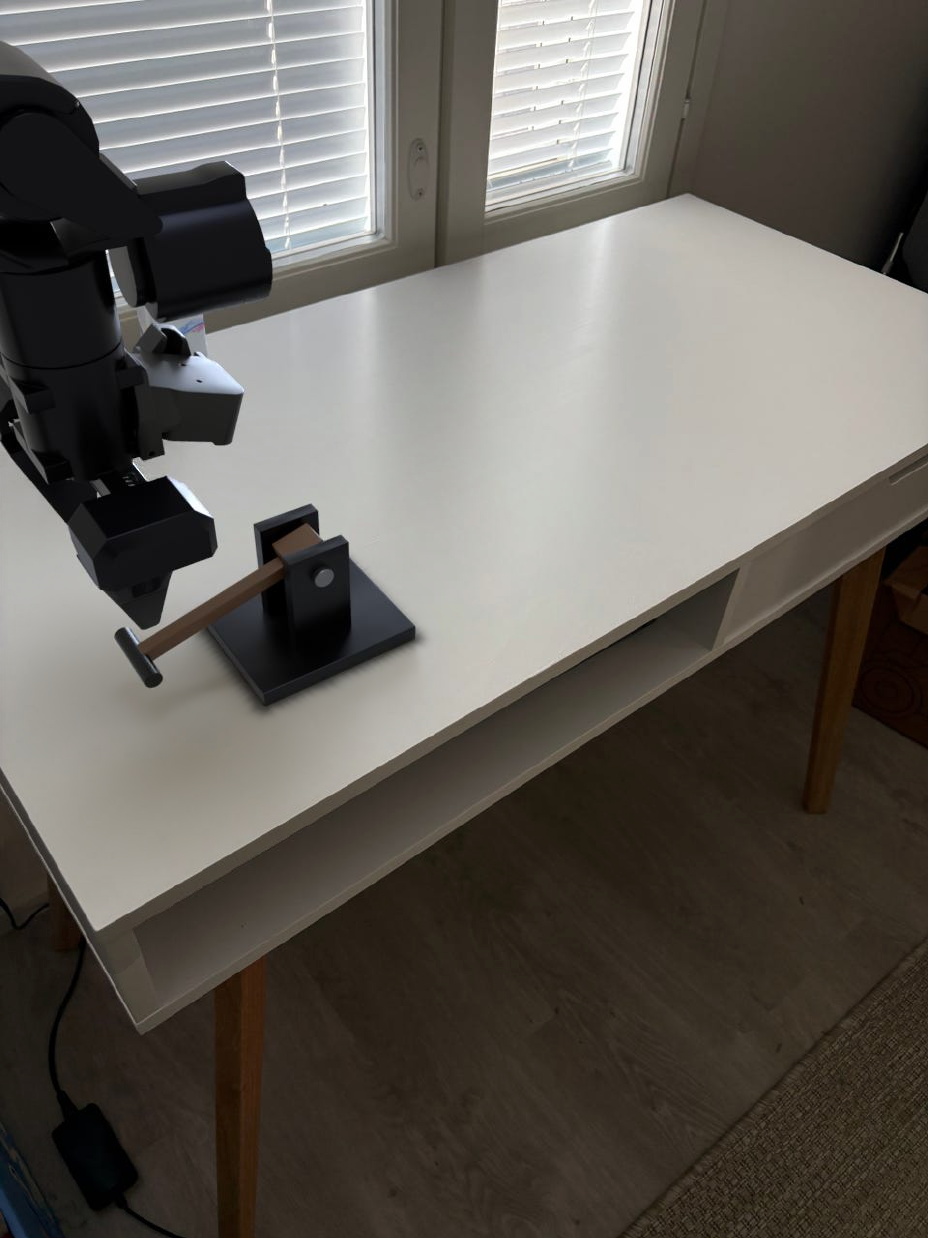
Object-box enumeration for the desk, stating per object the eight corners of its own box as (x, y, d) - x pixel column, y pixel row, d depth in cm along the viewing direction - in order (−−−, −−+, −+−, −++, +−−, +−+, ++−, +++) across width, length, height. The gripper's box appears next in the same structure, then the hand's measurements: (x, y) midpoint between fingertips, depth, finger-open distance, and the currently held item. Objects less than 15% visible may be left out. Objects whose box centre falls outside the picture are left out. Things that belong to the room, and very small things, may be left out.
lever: (153, 696, 64) (137, 675, 62) (122, 649, 67) (106, 628, 65) (343, 574, 68) (333, 551, 66) (306, 535, 70) (296, 511, 69)
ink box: (215, 391, 95) (199, 270, 87) (162, 400, 93) (141, 278, 85) (193, 348, 101) (177, 231, 93) (143, 356, 99) (121, 238, 91)
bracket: (265, 706, 67) (253, 609, 61) (200, 619, 73) (183, 522, 67) (415, 638, 72) (418, 543, 66) (344, 562, 78) (340, 467, 72)
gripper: (300, 382, 48) (315, 622, 58) (142, 237, 58) (179, 463, 69) (67, 451, 43) (130, 699, 53) (-60, 279, 53) (14, 515, 64)
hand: (118, 580), depth 60 cm, fingers open, 9 cm apart
